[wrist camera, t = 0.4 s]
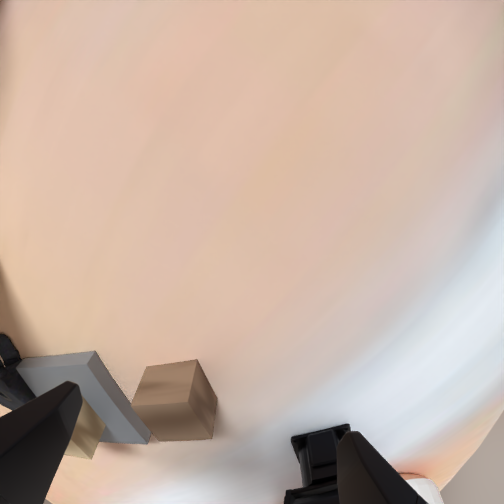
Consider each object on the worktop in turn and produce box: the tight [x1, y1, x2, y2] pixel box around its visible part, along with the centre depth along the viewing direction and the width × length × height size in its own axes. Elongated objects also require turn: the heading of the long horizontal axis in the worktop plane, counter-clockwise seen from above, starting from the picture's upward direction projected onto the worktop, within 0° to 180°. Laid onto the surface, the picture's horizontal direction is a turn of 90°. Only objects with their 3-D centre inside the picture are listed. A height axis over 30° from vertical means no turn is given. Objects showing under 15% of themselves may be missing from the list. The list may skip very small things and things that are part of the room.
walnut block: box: [131, 359, 217, 441], centre depth 22 cm, size 5×5×5 cm
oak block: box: [64, 394, 106, 460], centre depth 22 cm, size 5×5×5 cm
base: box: [16, 351, 151, 444], centre depth 25 cm, size 12×12×2 cm
